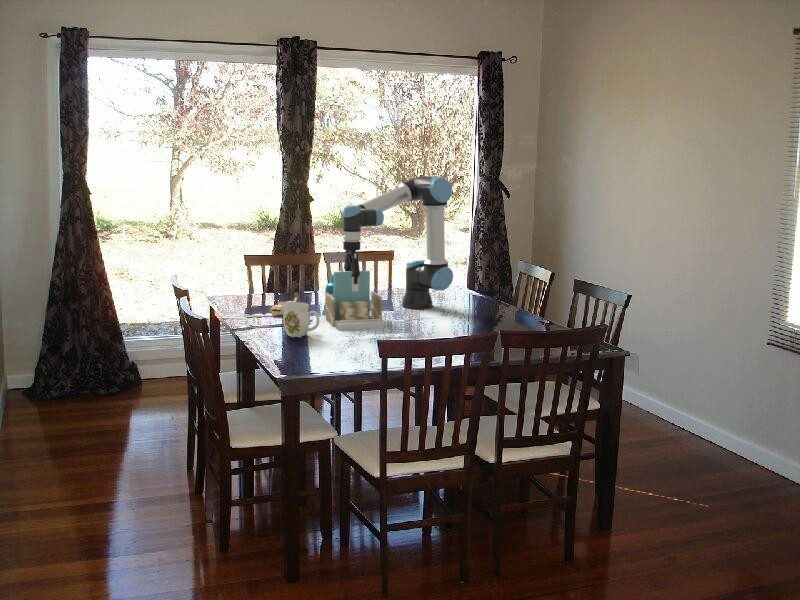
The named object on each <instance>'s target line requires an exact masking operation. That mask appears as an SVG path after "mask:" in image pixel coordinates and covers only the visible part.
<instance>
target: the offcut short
mask: <svg viewBox="0 0 800 600" xmlns="http://www.w3.org/2000/svg"><path fill="white" fill-rule="evenodd" d="M361 319H368V308H367V307H355V308H344V320H361Z"/></svg>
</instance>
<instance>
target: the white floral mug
mask: <svg viewBox="0 0 800 600" xmlns="http://www.w3.org/2000/svg"><path fill="white" fill-rule="evenodd" d="M277 303H279V304H278V305H281V306H282V307H283V309H284V315H282V321H283V328H284V330H285V333H286V334H287V336H288V337H289V336H290V338H294V337H298V338H303V337H302V336H304V337H305V335H306V334H307V333H309V332H312V331H315V330H316V329H317V328H318V327H319V325H320V321H321V320H320V315H319V313H318V312H317V310H311V311H309V308H310V304H309V303H306V302H298V301H296V302H288V301H281V302H280V301H278V302H277ZM313 314H314V315H315V317H316V322H315V324H314V325H313V326H312V327H310V322H311V321H310V320H311V317H310V315H313Z"/></svg>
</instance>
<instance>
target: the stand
mask: <svg viewBox="0 0 800 600" xmlns="http://www.w3.org/2000/svg"><path fill="white" fill-rule="evenodd" d="M334 327H335V328H337V330H338V331H349V330H351V331H352V330H353V331H354V330H369V329H370V330H371V329H385V322H384V320H382V321H381V319H361V320H339V321H335V326H334Z"/></svg>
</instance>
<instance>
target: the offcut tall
mask: <svg viewBox="0 0 800 600" xmlns="http://www.w3.org/2000/svg"><path fill="white" fill-rule="evenodd" d="M355 307H367V308H368V315H370V308H369V302H368V301H348V302H339V320H344V308H355Z"/></svg>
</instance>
